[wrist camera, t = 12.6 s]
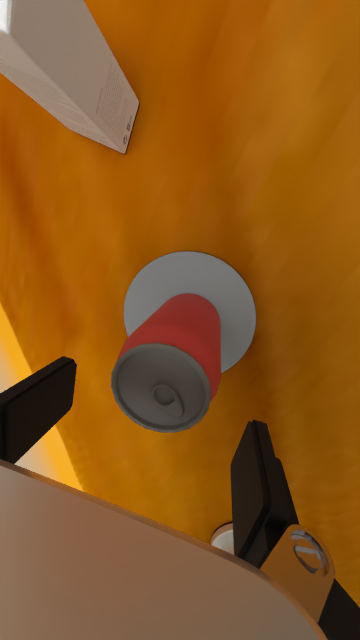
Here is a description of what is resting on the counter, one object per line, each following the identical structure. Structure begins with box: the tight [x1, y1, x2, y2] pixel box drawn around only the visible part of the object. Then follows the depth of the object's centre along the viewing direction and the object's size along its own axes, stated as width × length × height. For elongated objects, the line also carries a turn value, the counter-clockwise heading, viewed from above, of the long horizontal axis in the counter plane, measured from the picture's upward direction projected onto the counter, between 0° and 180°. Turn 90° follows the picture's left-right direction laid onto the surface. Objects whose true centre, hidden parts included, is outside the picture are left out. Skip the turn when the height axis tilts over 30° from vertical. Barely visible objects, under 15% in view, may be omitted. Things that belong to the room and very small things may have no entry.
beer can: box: [111, 293, 221, 432], centre depth 17 cm, size 7×7×12 cm
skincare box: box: [0, 0, 139, 154], centre depth 14 cm, size 6×4×12 cm
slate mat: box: [124, 251, 256, 373], centre depth 23 cm, size 14×14×1 cm
